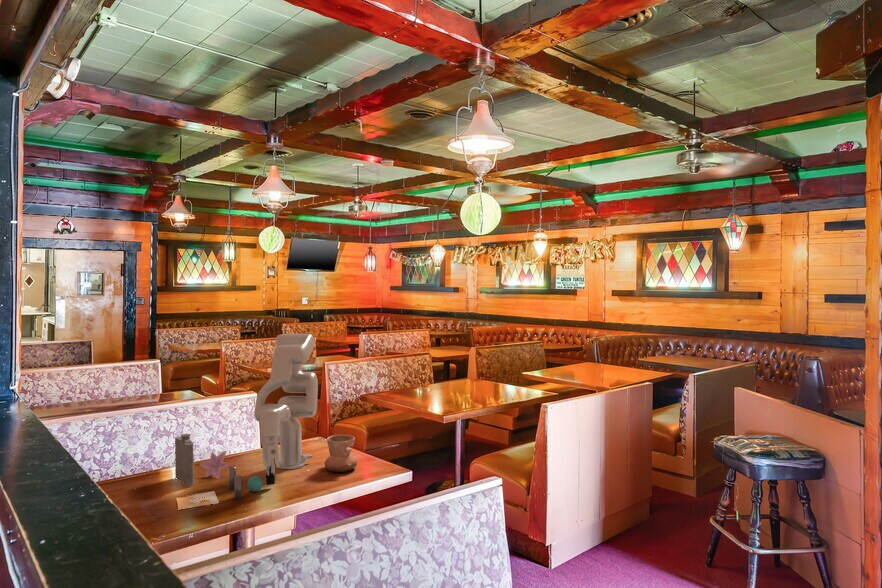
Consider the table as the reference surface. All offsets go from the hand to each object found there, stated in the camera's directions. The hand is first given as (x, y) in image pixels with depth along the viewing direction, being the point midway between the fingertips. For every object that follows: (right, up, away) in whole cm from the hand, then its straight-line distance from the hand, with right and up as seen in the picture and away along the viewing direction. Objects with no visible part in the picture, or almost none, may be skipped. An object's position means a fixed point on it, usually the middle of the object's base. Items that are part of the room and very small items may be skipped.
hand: (270, 484), depth 230 cm
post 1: (-15, -2, 0) cm, 15 cm away
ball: (-5, +1, -3) cm, 6 cm away
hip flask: (-38, -2, +8) cm, 39 cm away
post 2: (-9, -2, -12) cm, 15 cm away
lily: (-29, -2, +16) cm, 33 cm away
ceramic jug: (+24, -1, +24) cm, 34 cm away
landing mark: (-24, -2, -13) cm, 27 cm away
